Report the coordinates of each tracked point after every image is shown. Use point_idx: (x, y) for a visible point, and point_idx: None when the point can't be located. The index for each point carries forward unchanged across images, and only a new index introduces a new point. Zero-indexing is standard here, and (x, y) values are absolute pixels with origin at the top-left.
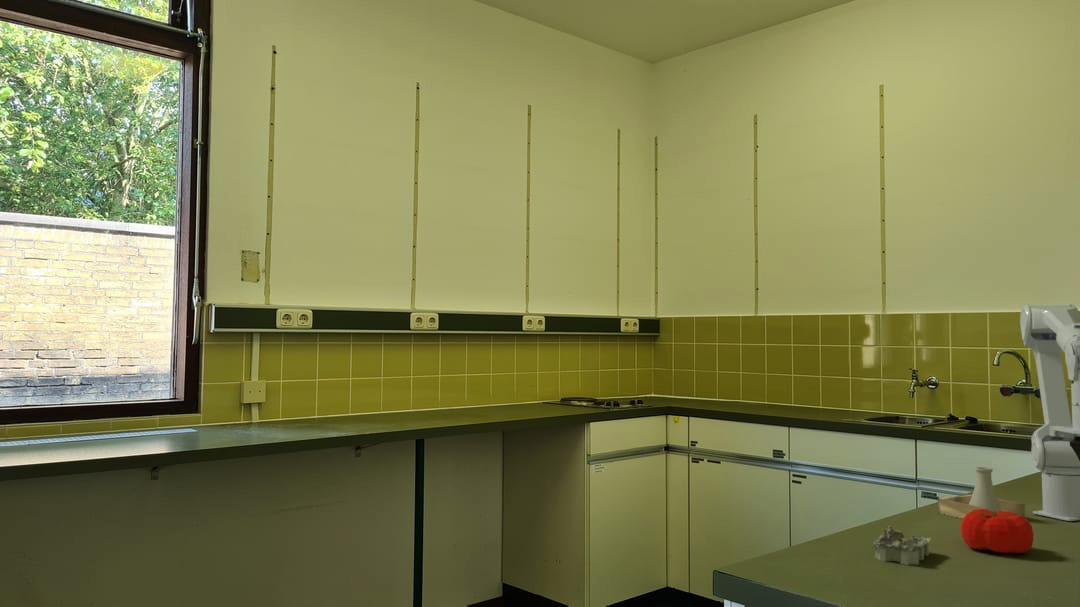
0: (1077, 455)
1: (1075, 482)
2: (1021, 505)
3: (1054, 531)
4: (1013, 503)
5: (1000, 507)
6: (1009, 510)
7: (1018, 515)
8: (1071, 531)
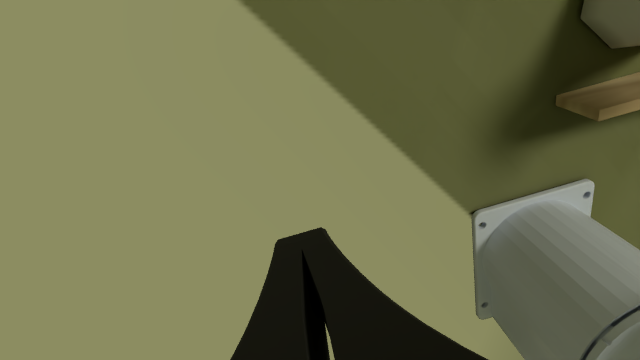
0: (408, 321)
1: (561, 333)
2: (601, 107)
3: (390, 67)
4: (634, 98)
5: (634, 8)
6: (624, 86)
7: (581, 93)
8: (375, 127)
